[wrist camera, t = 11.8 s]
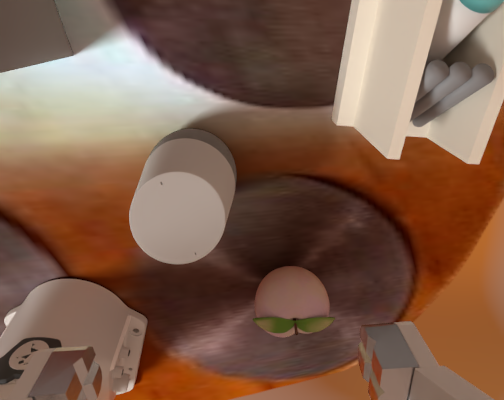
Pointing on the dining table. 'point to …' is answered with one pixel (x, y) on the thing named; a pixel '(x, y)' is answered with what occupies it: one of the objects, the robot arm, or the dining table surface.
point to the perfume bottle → (30, 34)
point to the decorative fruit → (291, 302)
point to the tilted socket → (419, 79)
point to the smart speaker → (183, 197)
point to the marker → (457, 24)
